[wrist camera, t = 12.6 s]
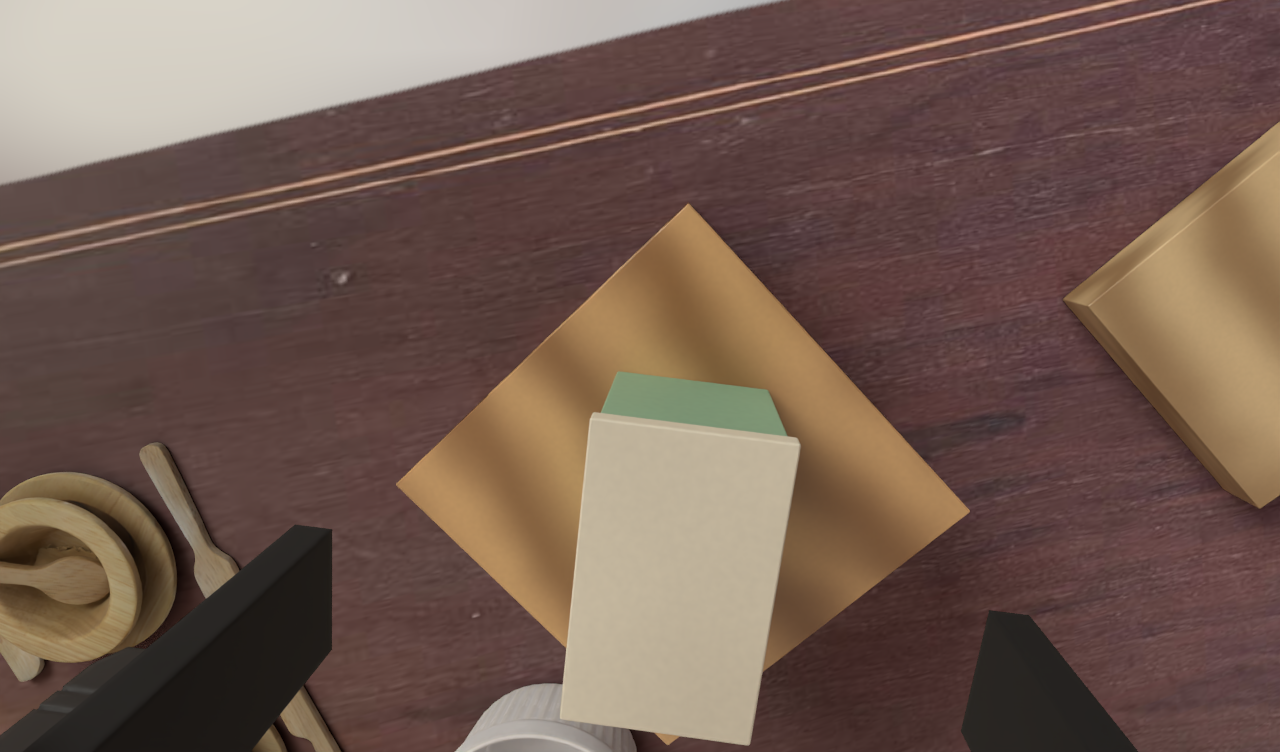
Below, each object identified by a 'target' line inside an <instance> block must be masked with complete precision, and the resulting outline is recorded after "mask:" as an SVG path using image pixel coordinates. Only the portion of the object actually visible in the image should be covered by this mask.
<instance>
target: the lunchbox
mask: <svg viewBox="0 0 1280 752" xmlns="http://www.w3.org/2000/svg"><path fill="white" fill-rule="evenodd" d="M800 449H801V444H800V442H799V440H798V438H796V437H788V436H787V433H786V431H785V428H784V426H783V424H782V421H781V419H780V417H779V414H778V412H777V410H776V407H775V405H774V403H773V400H772V398H771V396H770V393H769V391H768V390H766V389H757V388H749V387H741V386H733V385H725V384H717V383H709V382H701V381H693V380H685V379H677V378H669V377H661V376H653V375H644V374H636V373H628V372H620V371H618V372H617V374H616V376H615V379H614V381H613V384H612V386H611V388H610V391H609V393H608V396H607V398H606V401H605V403H604V406H603V408H602V411H601V413H597V412H594V413H593V414H592V416H591V418H590V421H589V431H588V441H587V451H586V461H585V471H584V480H583V490H582V500H581V510H580V520H579V530H578V539H577V549H576V559H575V569H574V579H573V589H572V599H571V608H570V618H569V628H568V638H567V648H566V658H565V667H564V677H563V687H562V697H561V707H560V719H562V720H568V721H576V722H583V723H590V724H597V725H604V726H611V727H618V728H626V729H633V730H640V731H647V732H654V733H661V734H669V735H676V736H683V737H690V738H697V739H704V740H712V741H719V742H726V743H733V744H740V745H747V746H748V745H750V743H751V737H752V731H753V725H754V719H755V713H756V707H757V702H758V696H759V690H760V684H761V678H762V672H763V666H764V661H765V655H766V649H767V643H768V637H769V631H770V625H771V619H772V614H773V608H774V602H775V596H776V590H777V584H778V578H779V573H780V567H781V561H782V555H783V549H784V543H785V537H786V531H787V526H788V520H789V514H790V508H791V502H792V496H793V490H794V485H795V479H796V473H797V467H798V461H799V455H800Z"/></svg>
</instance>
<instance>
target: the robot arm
mask: <svg viewBox="0 0 1280 752" xmlns="http://www.w3.org/2000/svg"><path fill="white" fill-rule="evenodd" d="M331 650H332V529H325V528H317V527H309V526H301V525H294V526H293V527H292V528H291V529H289V530H288V531H287V532H286V533H285V534H283V535H282V536H281V537H280V538H279V539H277V540H276V541H275V542H274V543H273V544H271V545H270V546H269V547H268V548H267V549H265V550H264V551H263V552H262V553H261V554H259V555H258V556H257V557H256V558H255V559H253V560H252V561H251V562H250V563H249V564H247V565H246V566H245V567H244V568H243V569H241V570H240V571H239V572H238V573H237V574H235V575H234V576H233V577H232V578H231V579H229V580H228V581H227V582H226V583H225V584H223V585H222V586H221V587H220V588H219V589H217V590H216V591H215V592H214V593H213V594H211V595H210V596H209V597H208V598H207V599H205V600H204V601H203V602H202V603H201V604H199V605H198V606H197V607H196V608H194V609H193V610H192V611H191V612H190V613H188V614H187V615H186V616H185V617H184V618H182V619H181V620H180V621H179V622H178V623H176V624H175V625H174V626H173V627H172V628H170V629H169V630H168V631H167V632H166V633H164V634H163V635H162V636H161V637H160V638H158V639H157V640H156V641H155V642H154V643H152V644H151V645H150V646H149V647H148V648H146V649H141V648H134V647H126V648H124V649H122V650H120V651H118V652H116V653H114V654H112V655H110V656H108V657H105V658H103V659H101V660H99V661H97V662H95V663H93V664H91V665H90V666H88V667H87V668H86V669H85V670H83V671H82V672H81V673H80V674H78V675H77V676H76V677H74V678H73V679H72V680H71V681H69V682H68V683H67V684H65V685H64V686H63V689H62V691H57V692H55V693H54V694H53V695H51V696H50V697H49V698H48V699H46V700H45V701H44V702H42V703H41V704H40V707H39V709H38V710H36V709H33V710H32V711H31V712H30V713H28V714H27V715H26V716H25V717H23V718H22V719H21V720H19V721H18V722H17V723H16V724H14V725H13V726H12V727H10V728H9V729H8V730H7V731H5V732H4V733H3V734H2V735H0V752H251V751H252V749H253V748H254V747H255V746H256V744H257V743H258V742H259V741H260V739H261V738H262V737H263V736H264V734H265V733H266V732H267V731H268V729H269V728H270V727H271V725H272V724H273V723H274V722H275V720H276V719H277V718H278V717H279V715H280V714H281V713H282V712H283V710H284V709H285V708H286V707H287V705H288V704H289V703H290V701H291V700H292V699H293V698H294V696H295V695H296V694H297V693H298V691H299V690H300V689H301V688H302V686H303V685H304V684H305V683H306V681H307V680H308V679H309V678H310V676H311V675H312V674H313V672H314V671H315V670H316V669H317V667H318V666H319V665H320V664H321V662H322V661H323V660H324V659H325V657H326V656H327V655H328V654H329V652H330V651H331ZM961 732H962V734H963V736H964V738H965V740H966V742H967V744H968V746H969V748H970V750H971V752H1138V751H1137V749H1136V748H1135V747H1134V746H1133V744H1132V743H1131V742H1130V741H1129V739H1128V738H1127V737H1126V736H1125V735H1124V733H1123V732H1122V731H1121V730H1120V728H1119V727H1118V726H1117V725H1116V723H1115V722H1114V721H1113V720H1112V718H1111V717H1110V716H1109V715H1108V713H1107V712H1106V711H1105V710H1104V708H1103V707H1102V706H1101V705H1100V703H1099V702H1098V701H1097V700H1096V698H1095V697H1094V696H1093V695H1092V693H1091V692H1090V691H1089V690H1088V688H1087V687H1086V686H1085V685H1084V683H1083V682H1082V681H1081V680H1080V678H1079V677H1078V676H1077V675H1076V673H1075V672H1074V671H1073V670H1072V668H1071V667H1070V666H1069V665H1068V663H1067V662H1066V661H1065V660H1064V658H1063V657H1062V656H1061V655H1060V653H1059V652H1058V651H1057V650H1056V648H1055V647H1054V646H1053V645H1052V643H1051V642H1050V641H1049V640H1048V638H1047V637H1046V636H1045V635H1044V633H1043V632H1042V631H1041V630H1040V628H1039V627H1038V626H1037V625H1036V623H1035V622H1034V621H1033V620H1032V618H1031V617H1030V616H1029V615H1023V614H1014V613H1006V612H998V611H990V610H989V614H988V618H987V622H986V626H985V631H984V635H983V639H982V644H981V648H980V652H979V656H978V661H977V665H976V669H975V674H974V678H973V682H972V686H971V691H970V695H969V699H968V704H967V708H966V712H965V716H964V721H963V725H962V729H961Z"/></svg>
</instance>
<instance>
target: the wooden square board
mask: <svg viewBox="0 0 1280 752" xmlns="http://www.w3.org/2000/svg"><path fill="white" fill-rule="evenodd" d="M1063 301H1064V302H1065V303H1066V304H1067V306H1068V307H1069V308H1070V309H1071V310H1072V312H1073V313H1074V314H1075V315H1076V316H1077V317H1078V319H1079V320H1080V321H1081V322H1082V323H1083V324H1084V326H1085V327H1086V328H1087V329H1088V330H1089V332H1090V333H1091V334H1092V335H1093V336H1094V337H1095V339H1096V340H1097V341H1098V342H1099V343H1100V344H1101V346H1102V347H1103V348H1104V349H1105V350H1106V352H1107V353H1108V354H1109V355H1110V356H1111V357H1112V359H1113V360H1114V361H1115V362H1116V363H1117V364H1118V366H1119V367H1120V368H1121V369H1122V370H1123V371H1124V373H1125V374H1126V375H1127V376H1128V377H1129V379H1130V380H1131V381H1132V382H1133V383H1134V384H1135V386H1136V387H1137V388H1138V389H1139V390H1140V391H1141V393H1142V394H1143V395H1144V396H1145V397H1146V399H1147V400H1148V401H1149V402H1150V403H1151V404H1152V406H1153V407H1154V408H1155V409H1156V410H1157V411H1158V413H1159V414H1160V415H1161V416H1162V417H1163V418H1164V420H1165V421H1166V422H1167V423H1168V424H1169V426H1170V427H1171V428H1172V429H1173V430H1174V431H1175V433H1176V434H1177V435H1178V436H1179V437H1180V438H1181V440H1182V441H1183V442H1184V443H1185V444H1186V446H1187V447H1188V448H1189V449H1190V450H1191V451H1192V453H1193V454H1194V455H1195V456H1196V457H1197V458H1198V460H1199V461H1200V462H1201V463H1202V464H1203V465H1204V467H1205V468H1206V469H1207V470H1208V471H1209V473H1210V474H1211V475H1212V476H1213V477H1214V478H1215V480H1216V481H1217V482H1218V483H1219V484H1220V485H1221V487H1222V488H1223V489H1224V490H1225V491H1227V492H1229V493H1231V494H1233V495H1235V496H1237V497H1238V498H1240V499H1242V500H1244V501H1246V502H1248V503H1250V504H1251V505H1253V506H1255V507H1257V508H1259V509H1260V508H1262V507H1264V506H1265V505H1266V504H1268V503H1269V502H1271V501H1272V500H1273V499H1275V498H1276V497H1278V496H1279V495H1280V122H1278V123H1277V124H1276V125H1275V126H1274V127H1272V128H1271V129H1270V130H1269V131H1267V132H1266V133H1265V134H1264V135H1263V136H1261V137H1260V138H1259V139H1258V140H1256V141H1255V142H1254V143H1253V144H1252V145H1250V146H1249V147H1248V148H1247V149H1245V150H1244V151H1243V152H1242V153H1241V154H1239V155H1238V156H1237V157H1236V158H1234V159H1233V160H1232V161H1231V162H1230V163H1228V164H1227V165H1226V166H1225V167H1223V168H1222V169H1221V170H1220V171H1219V172H1217V173H1216V174H1215V175H1214V176H1212V177H1211V178H1210V179H1209V180H1208V181H1206V182H1205V183H1204V184H1203V185H1201V186H1200V187H1199V188H1198V189H1196V190H1195V191H1194V192H1193V193H1192V194H1190V195H1189V196H1188V197H1187V198H1185V199H1184V200H1183V201H1182V202H1181V203H1179V204H1178V205H1177V206H1176V207H1174V208H1173V209H1172V210H1171V211H1170V212H1168V213H1167V214H1166V215H1165V216H1163V217H1162V218H1161V219H1160V220H1159V221H1157V222H1156V223H1155V224H1154V225H1152V226H1151V227H1150V228H1149V229H1148V230H1146V231H1145V232H1144V233H1143V234H1141V235H1140V236H1139V237H1138V238H1137V239H1135V240H1134V241H1133V242H1132V243H1130V244H1129V245H1128V246H1127V247H1126V248H1124V249H1123V250H1122V251H1121V252H1119V253H1118V254H1117V255H1116V256H1115V257H1113V258H1112V259H1111V260H1110V261H1108V262H1107V263H1106V264H1105V265H1103V266H1102V267H1101V268H1100V269H1099V270H1097V271H1096V272H1095V273H1094V274H1092V275H1091V276H1090V277H1089V278H1088V279H1086V280H1085V281H1084V282H1083V283H1081V284H1080V285H1079V286H1078V287H1077V288H1075V289H1074V290H1073V291H1072V292H1070V293H1069V294H1068V295H1067V296H1066V297H1064V298H1063Z"/></svg>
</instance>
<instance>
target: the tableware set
mask: <svg viewBox="0 0 1280 752" xmlns="http://www.w3.org/2000/svg"><path fill="white" fill-rule="evenodd" d="M139 455H140V459H141V461H142V463H143V465H144V467H145V469H146V470H147V472H148V474H149V476H150V477H151V479H152V481H153V483H154V484H155V486H156V488H157V490H158V491H159V493H160V495H161V497H162V498H163V500H164V502H165V503H166V505H167V507H168V508H169V510H170V512H171V513H172V515H173V517H174V519H175V520H176V522H177V524H178V525H179V527H180V529H181V530H182V532H183V534H184V535H185V537H186V538H187V540H188V541H189V543H190V545H191V546H192V548H193V550H194V554H195V566H194V575H195V579H196V581H197V583H198V585H199V587H200V589H201V591H202V592H203V594H204V596H205V598H206V599H207V598H208V597H209V596H210V595H211V594H213V593H214V592H215V591H216V590H217V589H219V588H220V587H221V586H222V585H223V584H225V583H226V582H227V581H228V580H229V579H231V578H232V577H233V576H234V575H235V574H237V573H238V572H239V569H238V566H237V565H236V563H235V561H234V560H233V559H232V558H231V557H230V556H229V555H227V554H225V553H224V552H222V551H221V550H219V549H218V548H216V547H215V545H214V544H213V543H212V541H211V539H210V537H209V535H208V533H207V531H206V529H205V526H204V524H203V521H202V519H201V517H200V515H199V513H198V511H197V509H196V507H195V505H194V503H193V501H192V499H191V496H190V494H189V492H188V490H187V488H186V486H185V483H184V481H183V479H182V477H181V475H180V473H179V471H178V469H177V467H176V465H175V463H174V461H173V459H172V457H171V455H170V453H169V451H168V450H167V448H166V447H165V445H163V444H161V443H159V442H155V443H151V444H149V445H147V446H145V447H143V448H142V449H141V451H140V453H139ZM176 588H177V570H176V563H175V558H174V554H173V550H172V547H171V544H170V542H169V540H168V538H167V536H166V534H165V533H164V531H163V529H162V528H161V526H160V525H159V523H158V522H157V520H156V519H155V518H154V516H153V515H152V514H151V513H150V512H149V510H148V509H147V508H146V507H145V506H144V505H143V504H142V503H141V502H140V501H139V500H137V499H136V498H135V497H134V496H133V495H131V494H130V493H129V492H128V491H126V490H124V489H123V488H121V487H119V486H117V485H115V484H113V483H111V482H109V481H107V480H104V479H102V478H99V477H95V476H92V475H88V474H83V473H76V472H56V473H49V474H44V475H40V476H36V477H34V478H31V479H28V480H26V481H24V482H22V483H20V484H18V485H17V486H16V487H14V488H13V489H11V490H10V491H9V492H8V493H7V494H6V495H5V496H4V497H3V498H2V499H1V500H0V652H1V653H2V655H3V657H4V658H5V660H6V661H7V663H8V664H9V666H10V667H11V669H12V670H13V672H14V673H15V675H16V676H17V678H18V679H19V681H21V682H23V681H27V680H30V679H32V678H34V677H35V676H37V675H38V674H39V673H41V671H42V670H43V668H44V659H45V660H51V661H56V662H69V663H75V662H84V661H90V660H94V659H97V658H99V657H101V656H103V655H105V654H109V653H114V652H118V651H120V650H122V649H124V648H126V647H133V646H136V645H137V644H139V643H141V642H142V641H144V640H145V639H147V638H148V637H149V636H151V635H152V634H153V633H154V632H155V631H156V630H157V629H158V628H159V627H160V626H161V624H162V623H163V622H164V620H165V619H166V617H167V616H168V614H169V612H170V610H171V608H172V605H173V602H174V600H175V595H176ZM280 715H281V717H282V719H283V721H284V723H285V725H286V726H287V728H288V730H289V731H290V733H291V734H292V735H294V736H297V737H303V738H306V739H308V740H309V741H311V742H312V744H313V746H314V748H315V751H316V752H341V750H340V749H339V747H338V745H337V743H336V742H335V740H334V738H333V736H332V735H331V733H330V731H329V730H328V728H327V726H326V724H325V722H324V721H323V719H322V717H321V716H320V714H319V712H318V710H317V709H316V707H315V705H314V703H313V702H312V700H311V698H310V696H309V695H308V693H307V691H306V689H305V688H304V686H302V688H301V689H300V690H299V691H298V693H297V694H296V695H295V696H294V698H293V699H292V700H291V701H290V703H289V704H288V705H287V707H286V708H285V709H284V710H283V712H282V713H281V714H280ZM251 752H287V750H286V747H285V744H284V742H283V740H282V738H281V736H280V734H279V733H278V731H277V730H276V728H275V726H274V725H273V724H272V725H271V727H270V728H269V729H268V731H267V732H266V733H265V734H264V736H263V737H262V738H261V739H260V741H259V742H258V743H257V744H256V746H255V747H254V748H253V749H252V751H251Z"/></svg>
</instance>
